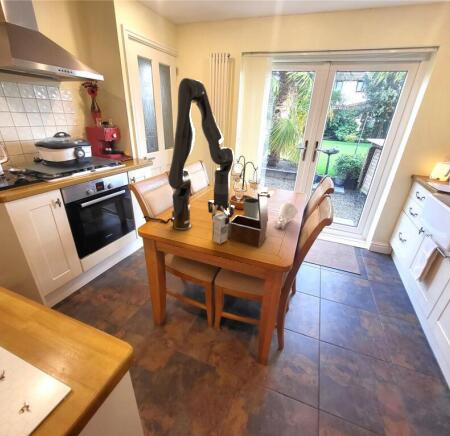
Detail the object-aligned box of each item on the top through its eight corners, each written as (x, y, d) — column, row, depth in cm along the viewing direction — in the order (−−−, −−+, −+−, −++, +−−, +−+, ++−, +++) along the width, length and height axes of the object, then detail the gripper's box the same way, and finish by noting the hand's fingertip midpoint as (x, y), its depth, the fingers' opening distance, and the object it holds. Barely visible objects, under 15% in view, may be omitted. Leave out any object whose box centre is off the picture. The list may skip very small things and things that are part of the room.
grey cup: (257, 221, 146) (258, 203, 141) (241, 219, 148) (242, 202, 143) (258, 215, 155) (260, 198, 150) (243, 213, 157) (244, 196, 152)
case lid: (257, 193, 108) (268, 193, 106) (264, 187, 118) (275, 187, 115) (259, 229, 115) (269, 230, 112) (266, 220, 124) (276, 221, 122)
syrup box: (219, 236, 127) (219, 212, 120) (227, 240, 123) (228, 215, 117) (211, 240, 123) (212, 215, 116) (220, 244, 119) (221, 219, 113)
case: (227, 238, 126) (228, 222, 122) (236, 230, 135) (237, 214, 131) (258, 247, 119) (260, 230, 115) (265, 237, 129) (267, 221, 124)
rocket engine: (281, 215, 132) (290, 200, 144) (266, 222, 140) (276, 207, 152) (293, 231, 134) (301, 214, 146) (277, 237, 142) (286, 220, 154)
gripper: (238, 191, 112) (236, 222, 119) (212, 186, 117) (211, 216, 124) (231, 196, 105) (230, 228, 113) (204, 190, 111) (204, 221, 118)
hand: (220, 222), depth 118 cm, fingers closed on syrup box, 6 cm apart
